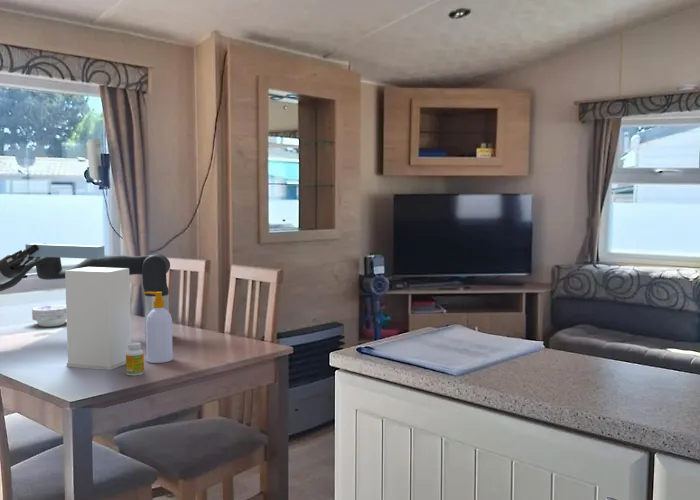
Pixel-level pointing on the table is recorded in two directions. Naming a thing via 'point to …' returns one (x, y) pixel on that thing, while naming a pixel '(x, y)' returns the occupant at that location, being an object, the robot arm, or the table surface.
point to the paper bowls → (50, 315)
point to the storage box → (97, 317)
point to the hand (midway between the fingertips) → (41, 246)
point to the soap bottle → (159, 332)
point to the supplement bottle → (134, 359)
